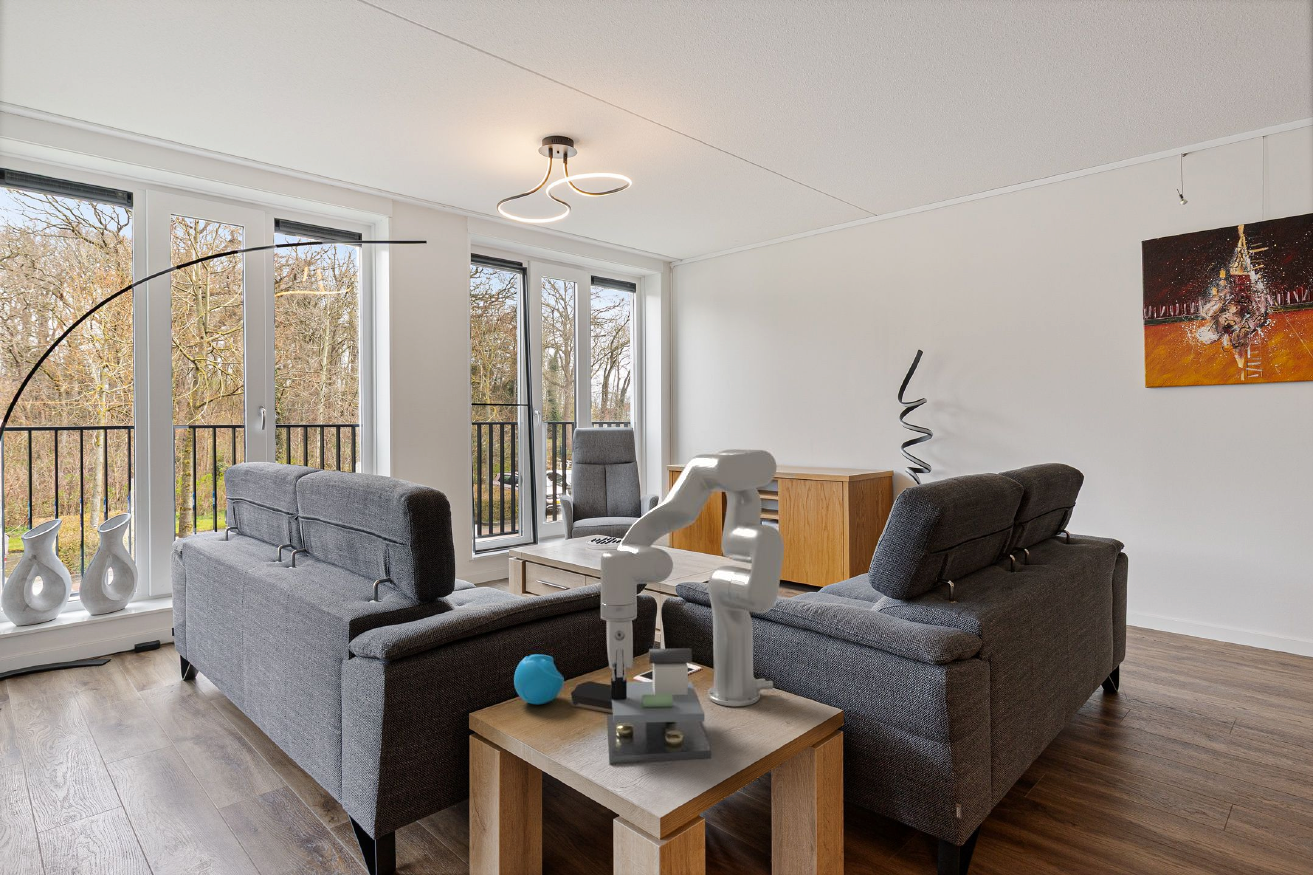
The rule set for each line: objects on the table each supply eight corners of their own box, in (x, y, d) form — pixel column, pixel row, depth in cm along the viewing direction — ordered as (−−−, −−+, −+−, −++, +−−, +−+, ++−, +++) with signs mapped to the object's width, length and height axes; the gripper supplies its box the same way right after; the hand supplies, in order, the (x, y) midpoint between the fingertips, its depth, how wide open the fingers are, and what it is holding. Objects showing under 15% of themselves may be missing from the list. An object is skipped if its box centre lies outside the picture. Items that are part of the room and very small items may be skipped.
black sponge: (643, 705, 162) (643, 689, 162) (625, 718, 154) (625, 702, 154) (585, 694, 169) (585, 679, 169) (566, 706, 162) (565, 691, 162)
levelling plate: (690, 692, 153) (691, 640, 153) (704, 726, 135) (705, 668, 135) (610, 694, 151) (611, 641, 151) (613, 729, 133) (614, 669, 133)
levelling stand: (695, 716, 154) (694, 692, 154) (710, 757, 134) (710, 731, 134) (606, 721, 152) (606, 697, 152) (609, 764, 132) (608, 737, 132)
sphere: (571, 705, 162) (570, 656, 162) (526, 716, 156) (525, 666, 155) (550, 689, 172) (549, 643, 172) (506, 700, 166) (506, 652, 165)
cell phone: (702, 670, 185) (702, 667, 185) (656, 689, 172) (656, 685, 172) (678, 663, 191) (678, 659, 191) (632, 680, 178) (632, 677, 178)
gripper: (639, 618, 135) (639, 711, 135) (634, 601, 150) (634, 684, 150) (601, 619, 135) (601, 713, 134) (600, 602, 150) (600, 686, 149)
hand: (618, 697), depth 142 cm, fingers closed
